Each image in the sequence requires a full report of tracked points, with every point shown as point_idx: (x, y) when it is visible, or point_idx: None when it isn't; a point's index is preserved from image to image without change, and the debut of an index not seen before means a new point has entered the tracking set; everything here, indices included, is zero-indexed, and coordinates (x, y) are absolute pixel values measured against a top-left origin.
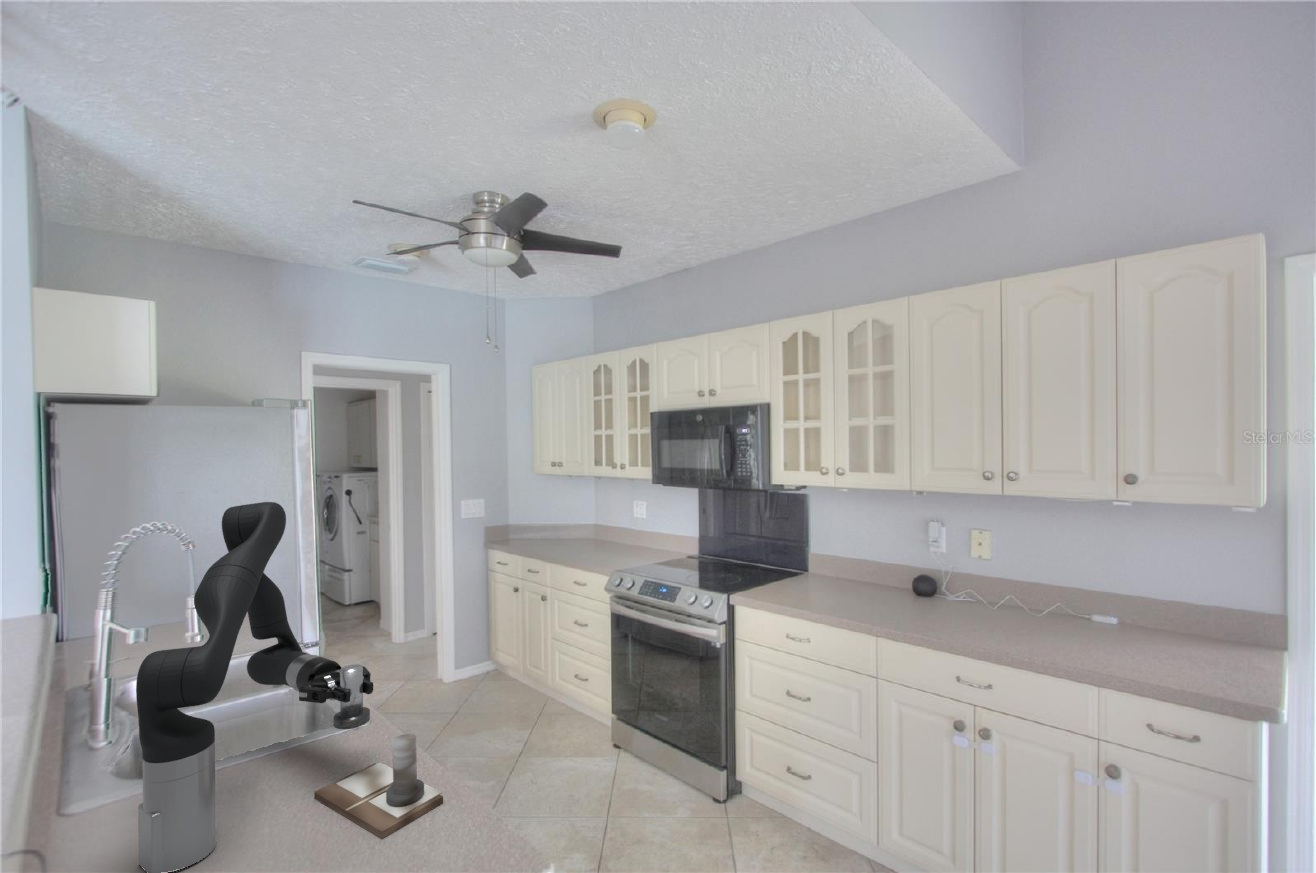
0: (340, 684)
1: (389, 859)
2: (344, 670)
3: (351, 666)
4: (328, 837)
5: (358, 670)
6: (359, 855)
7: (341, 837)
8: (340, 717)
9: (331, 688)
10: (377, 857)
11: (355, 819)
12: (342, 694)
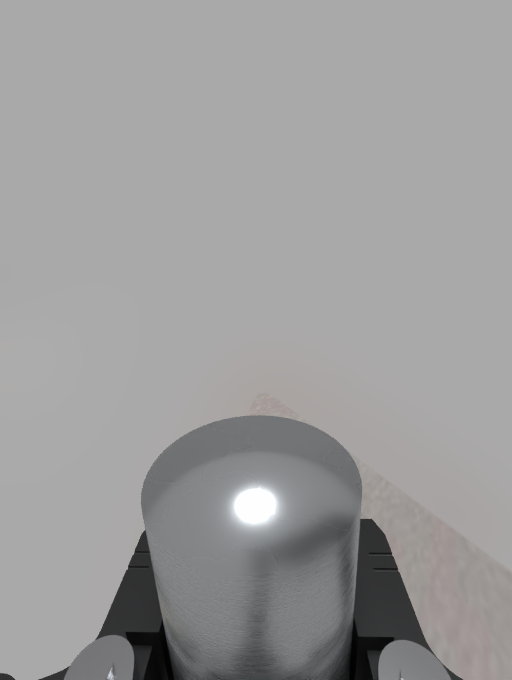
0: (354, 601)
1: (356, 463)
2: (327, 467)
3: (220, 505)
4: (430, 584)
5: (244, 423)
6: (387, 496)
7: (405, 561)
8: None
9: (440, 668)
10: (367, 476)
11: None
12: (370, 521)
